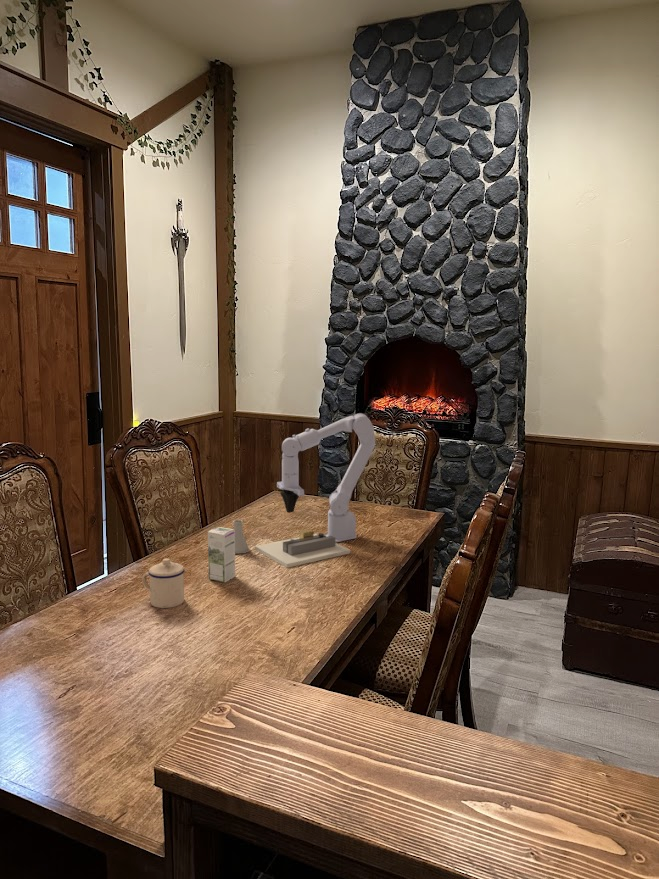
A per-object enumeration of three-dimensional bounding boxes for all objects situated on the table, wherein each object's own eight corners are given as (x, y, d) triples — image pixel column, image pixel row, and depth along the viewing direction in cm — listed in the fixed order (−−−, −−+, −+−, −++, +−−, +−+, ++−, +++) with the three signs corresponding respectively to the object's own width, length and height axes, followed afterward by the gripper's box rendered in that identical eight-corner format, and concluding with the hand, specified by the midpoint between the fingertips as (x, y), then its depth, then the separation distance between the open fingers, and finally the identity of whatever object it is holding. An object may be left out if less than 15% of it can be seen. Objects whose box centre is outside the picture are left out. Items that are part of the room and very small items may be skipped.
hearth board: (315, 537, 224) (315, 525, 223) (350, 553, 208) (350, 540, 207) (254, 549, 210) (254, 537, 209) (286, 567, 194) (286, 554, 193)
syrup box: (236, 576, 186) (235, 528, 184) (224, 583, 181) (223, 534, 179) (219, 573, 189) (219, 525, 186) (207, 580, 183) (206, 531, 181)
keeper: (309, 542, 214) (309, 529, 214) (313, 544, 212) (313, 531, 212) (299, 544, 212) (299, 531, 211) (303, 546, 210) (303, 533, 209)
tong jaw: (322, 542, 214) (322, 532, 213) (325, 544, 212) (326, 534, 211) (282, 551, 205) (282, 540, 205) (286, 553, 203) (286, 542, 203)
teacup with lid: (191, 598, 171) (191, 556, 169) (172, 611, 162) (171, 567, 161) (153, 591, 175) (152, 550, 173) (132, 604, 166) (131, 561, 165)
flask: (251, 547, 212) (251, 518, 210) (246, 554, 205) (246, 524, 203) (230, 546, 213) (229, 517, 211) (224, 554, 206) (224, 523, 204)
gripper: (269, 470, 222) (269, 508, 224) (291, 478, 211) (291, 518, 213) (286, 468, 226) (286, 505, 228) (309, 476, 215) (309, 515, 217)
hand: (290, 511), depth 221 cm, fingers closed
